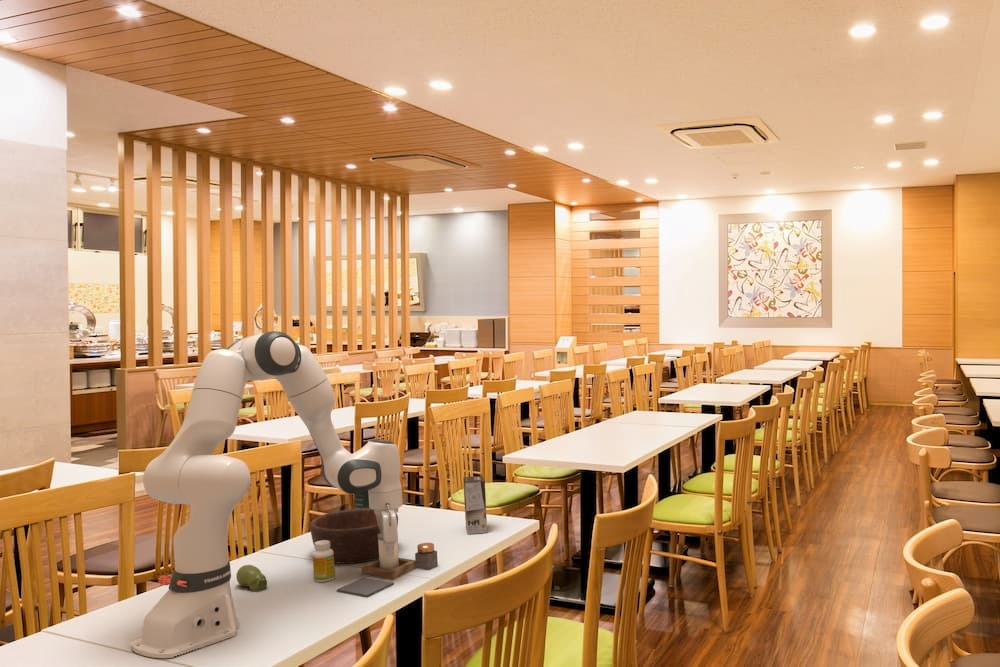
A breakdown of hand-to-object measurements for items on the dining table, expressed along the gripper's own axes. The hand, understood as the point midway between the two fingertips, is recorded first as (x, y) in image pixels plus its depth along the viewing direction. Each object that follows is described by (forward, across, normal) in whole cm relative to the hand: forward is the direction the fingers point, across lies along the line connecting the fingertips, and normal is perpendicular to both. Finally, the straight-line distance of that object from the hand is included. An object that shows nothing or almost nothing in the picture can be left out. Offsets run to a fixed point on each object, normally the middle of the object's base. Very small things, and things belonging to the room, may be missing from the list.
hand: (388, 551), depth 215 cm
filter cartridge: (+5, 0, 0) cm, 5 cm away
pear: (+5, 0, +35) cm, 35 cm away
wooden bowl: (+6, +20, +8) cm, 22 cm away
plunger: (+4, 0, -10) cm, 11 cm away
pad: (+5, -12, +7) cm, 15 cm away
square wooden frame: (+5, 0, -3) cm, 6 cm away
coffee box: (+6, +30, -30) cm, 43 cm away
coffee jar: (+6, +50, +2) cm, 50 cm away
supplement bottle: (+5, 0, +17) cm, 18 cm away
